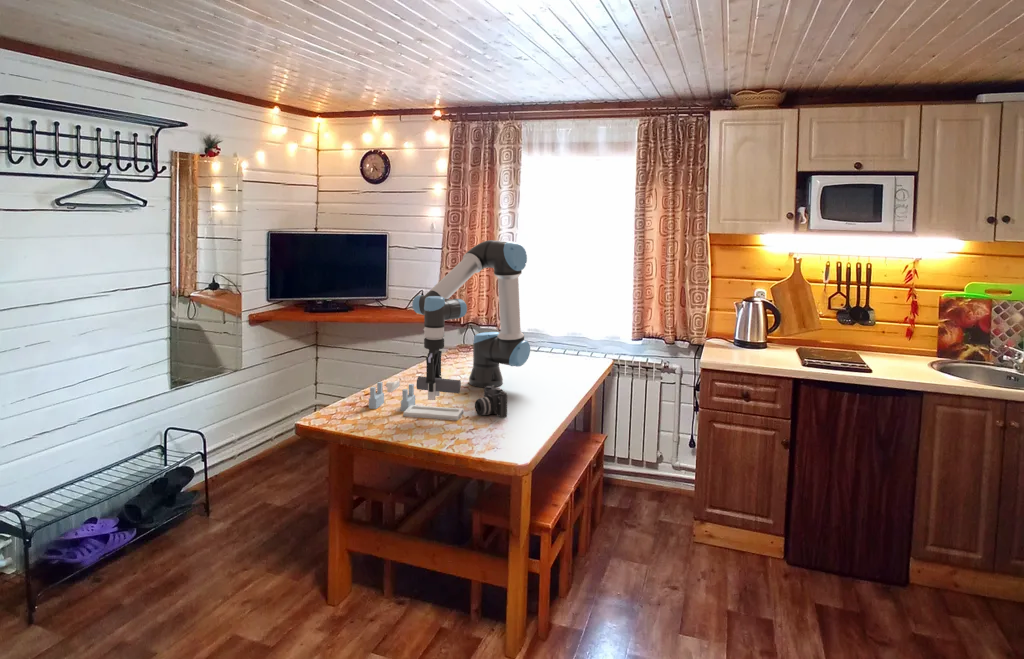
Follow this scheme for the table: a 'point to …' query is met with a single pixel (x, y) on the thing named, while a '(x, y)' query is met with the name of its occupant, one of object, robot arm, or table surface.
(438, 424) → the table surface
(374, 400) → the cradle
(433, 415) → the tray
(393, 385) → the white l-shaped hook
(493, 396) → the camera
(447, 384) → the gray cylinder
